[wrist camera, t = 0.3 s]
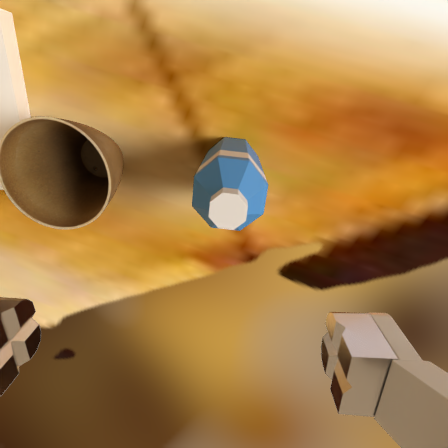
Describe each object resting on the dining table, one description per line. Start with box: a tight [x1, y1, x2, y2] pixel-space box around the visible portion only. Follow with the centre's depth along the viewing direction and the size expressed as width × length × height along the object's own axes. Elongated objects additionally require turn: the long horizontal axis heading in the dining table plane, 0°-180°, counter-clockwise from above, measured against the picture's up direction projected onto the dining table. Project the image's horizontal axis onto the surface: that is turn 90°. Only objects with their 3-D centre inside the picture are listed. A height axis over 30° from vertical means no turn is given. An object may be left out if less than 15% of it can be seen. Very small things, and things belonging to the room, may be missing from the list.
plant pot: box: [0, 116, 123, 229], centre depth 47 cm, size 15×15×16 cm
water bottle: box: [192, 137, 268, 231], centre depth 42 cm, size 9×9×25 cm
